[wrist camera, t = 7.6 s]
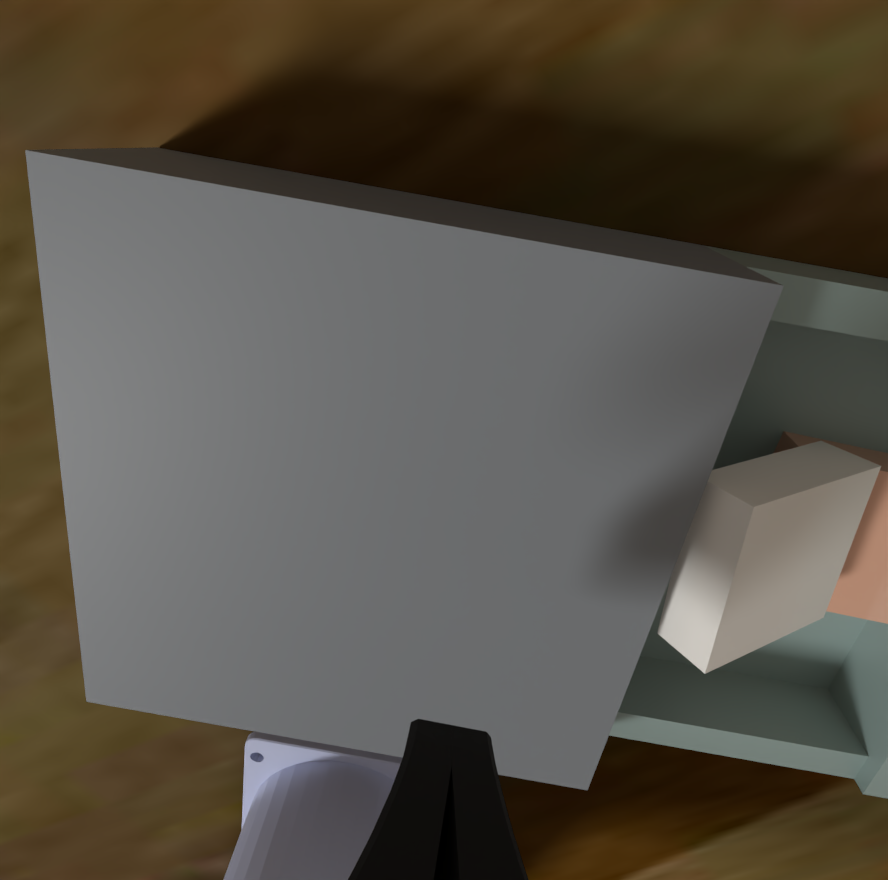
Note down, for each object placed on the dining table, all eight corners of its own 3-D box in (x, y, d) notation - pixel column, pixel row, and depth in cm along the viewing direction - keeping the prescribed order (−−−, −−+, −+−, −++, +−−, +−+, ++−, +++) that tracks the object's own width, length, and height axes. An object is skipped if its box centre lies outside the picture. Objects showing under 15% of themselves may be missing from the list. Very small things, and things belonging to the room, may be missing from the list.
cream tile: (773, 584, 18) (823, 617, 17) (657, 633, 16) (705, 673, 15) (820, 440, 16) (881, 466, 15) (695, 474, 14) (754, 506, 13)
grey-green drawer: (838, 706, 22) (896, 800, 19) (568, 657, 22) (580, 744, 19) (1073, 311, 16) (1213, 352, 13) (703, 245, 16) (753, 270, 13)
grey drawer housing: (568, 657, 22) (587, 790, 18) (169, 587, 22) (86, 701, 18) (703, 245, 16) (784, 285, 12) (157, 147, 16) (25, 150, 12)
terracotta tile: (738, 593, 18) (722, 561, 20) (891, 624, 18) (864, 591, 20) (807, 455, 16) (783, 430, 18) (977, 490, 16) (940, 464, 18)
